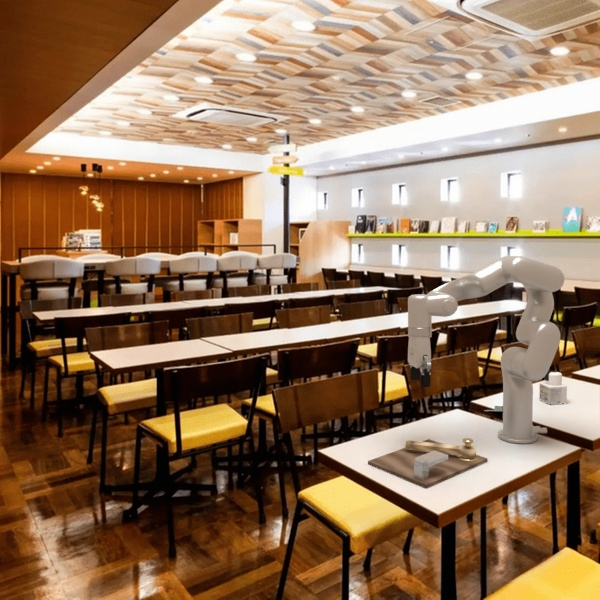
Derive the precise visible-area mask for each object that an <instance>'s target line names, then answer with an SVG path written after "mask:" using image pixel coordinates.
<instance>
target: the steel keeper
mask: <svg viewBox="0 0 600 600" xmlns="http://www.w3.org/2000/svg"><path fill="white" fill-rule="evenodd" d="M447 459H448V455H447V454H444V453H441V452H438V451H435V450H434V451H432V452H429V453H426V454H424V455H421V456H418V457H416V458H415V459H414V477H415V478H417V479H420V480H424V479H427V478H429V467H430V466H432V465H435V464H437V463H440V462H442V461H445V460H447Z"/></svg>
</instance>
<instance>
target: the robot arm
mask: <svg viewBox="0 0 600 600" xmlns="http://www.w3.org/2000/svg"><path fill="white" fill-rule="evenodd" d="M512 282H513V283H520V284H521V285H522V286H523V288H524V290H525V292H526V297H527V300H526V305H525V307H524V310H523V313H522V315H521V318H520V320H519V323H518V325H517V327H516V331H515V337H516V340H517V341H518V342H519V343H521V344H523V345H525V346H528V347H527V348H523V347H520V346H511V347H508V348H507V349H505V350H504V351H503V352H502V354H501V356H500V368H501V369H500V370H501V375H502V385H503V386H502V406H503V411H502V429H500V430H499V431H497V437H498V438H499V439H500V440H502V441H505V442H508V443H514V444H522V445H523V444H532V443H535V442H537V440H538V434H548V428H547V427H541V425H536V426H535V425H533V404H534V403H533V401H534V399H533V398H534V397H533V396H534V387H533V386H534V385H533V382H538V381H540V380H542V379H543V378H545V375H546V374H547V372H548V371H550V367H551V366H552V363H553V361H554V358H555V356H556V353H557V351H558V349H559V345H560V343H561V332H560V329H559V327H558V326H557V325H556V324H555V323H553V322H552V321H550V320H551V318H552V317H551V316H552V313H553V311H554V308H555V300H554V295H553V293H554V292H557V291H559V290H560V289H561V288H562V287H563V286H564V283H565V275H564V273H563V271H562V270H561V269H560V268H559V267H557V266H554V265H552V264H549V263H545V262H542V261H539V260H535V259H532V258H528V257H526V256H521V255H520V256H519V255H518V256H517V255H516V256H515V255H506V256H505V255H504V256H503V257H500V258H498V259H496V260H494V261H492V262H490V263H488V264H487V265H485V266H483V267H481V268H479V269H477V270H476V271H474V272H472V273H470V274H467V275H463V276H461V277H458V278H457V279H453V280H451V281H448V282H446V283H443V284H441V285H440V286H438V287H436V288H434V289H433V290H430V291H429V292H428V293H427V294H424V293H421V294H420V293H418V294H411V295H410V296H408V298H407V337H408V346H407V364H409V368H410V369H409V371H410V372H409V373H410V378H409V379H410V380H411V381H419V380H420V381H419V382H420V383H419V386H420V387H421V388H430V387H431V375H432V373H431V371H432V370H431V369H432V349H431V347H432V346H431V338H432V335H433V333H432V330H433V329H432V317H443V318H447V317H450V316H452V315H454V314H455V313H456V312H457V310H458V305H459V304H458V302H460V301H463V300H467V299H468V300H469V299H476V298H481V297H485V296H487V295H489V294H491V293H492V292H493V291H495V290H498V289H499V288H501V287H503V286H505V285H507V284H510V283H512Z"/></svg>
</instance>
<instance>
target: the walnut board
mask: <svg viewBox="0 0 600 600" xmlns="http://www.w3.org/2000/svg"><path fill="white" fill-rule="evenodd" d="M421 442H429V443H438V444H443V443H441V442H439V441H436V440H433V439H429V438H428V439H426V440H422V441H421ZM426 453H429V452H425V451H416V450H408V449H406V447H403V448H400V449H397V450H395V451H392V452H389V453H387V454H384V455H381V456H379V457H378V456H377V457H375V458H373V459H370V460H368V461H367V465H369V464H371V465H372V466H371V465H370V466H371V467H374V466H375V467H374V468H376V467H377V469H379V470H381V469H382V470H381V471H383V470H384V472H386V471H387V473H388V472H389V474H390V475H393V476H395V475H396V477H398V478H401V479H402V478H403V480H405V481H408V482H409V483H412V484H415V485H417V486H420V487H421V488H424V489H428V488H431V487H434V486H435V485H438V484H440V483H442V482H444V481H446V480H449V479H452V478H454V477H456V476H458V475H460V474H463V473H465V472H468V471H469V470H471V469H475V468H476V467H478V466H481V465H483V464H485V463H488V458H487V457H484V456H481V455H478V454H476V455H477V456H478V457H479V459H478V460H477V461H474V462H466V461H462V460H460V459H458V458H457V455H451V454H447V455H448V459H447V460H445V461H442V462H440V463H437V464H435V465H432V466H430V467H429V478H427V479H424V480H420V479H417V478H415V477H414V459H415V458H416V457H418V456H421V455H424V454H426Z"/></svg>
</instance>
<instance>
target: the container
mask: <svg viewBox="0 0 600 600" xmlns="http://www.w3.org/2000/svg"><path fill="white" fill-rule="evenodd" d="M562 381H563V374H562V373H561V372H560V371H558V370H548V372H547V374H546V375H545V376H544V382H542V381H541V382H539V400H540V399H541V400H543V401H544V402H547V403H548V404H558V405H560V404H559V403H566V404H567V400H568V399H567V398H568V396H567V395H568V393H567V391H568V387H567V385H565V384H564V383H563V382H562ZM541 400H540V401H541ZM543 401H542V402H543ZM544 402H543V403H544ZM548 404H547V405H548Z"/></svg>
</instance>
